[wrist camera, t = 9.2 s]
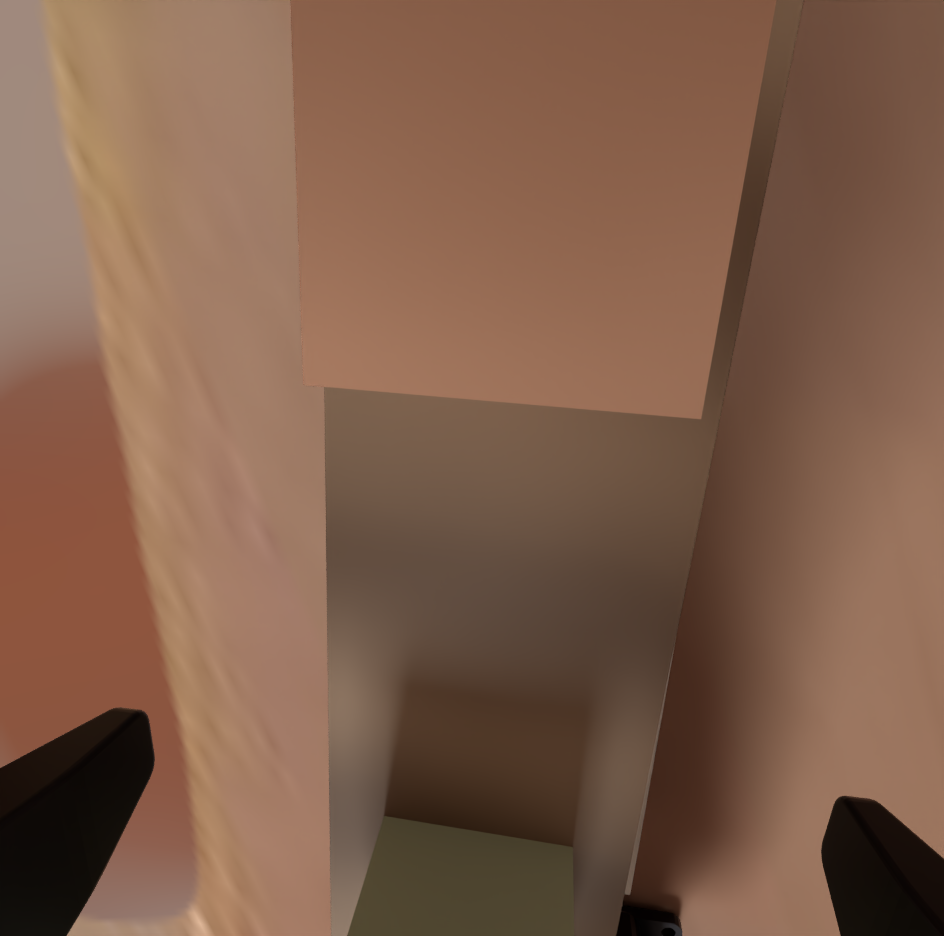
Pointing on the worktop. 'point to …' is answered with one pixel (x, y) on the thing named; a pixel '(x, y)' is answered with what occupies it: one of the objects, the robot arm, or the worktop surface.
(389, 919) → the block
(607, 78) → the salmon brown cube
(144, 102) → the worktop surface
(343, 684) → the pallet
